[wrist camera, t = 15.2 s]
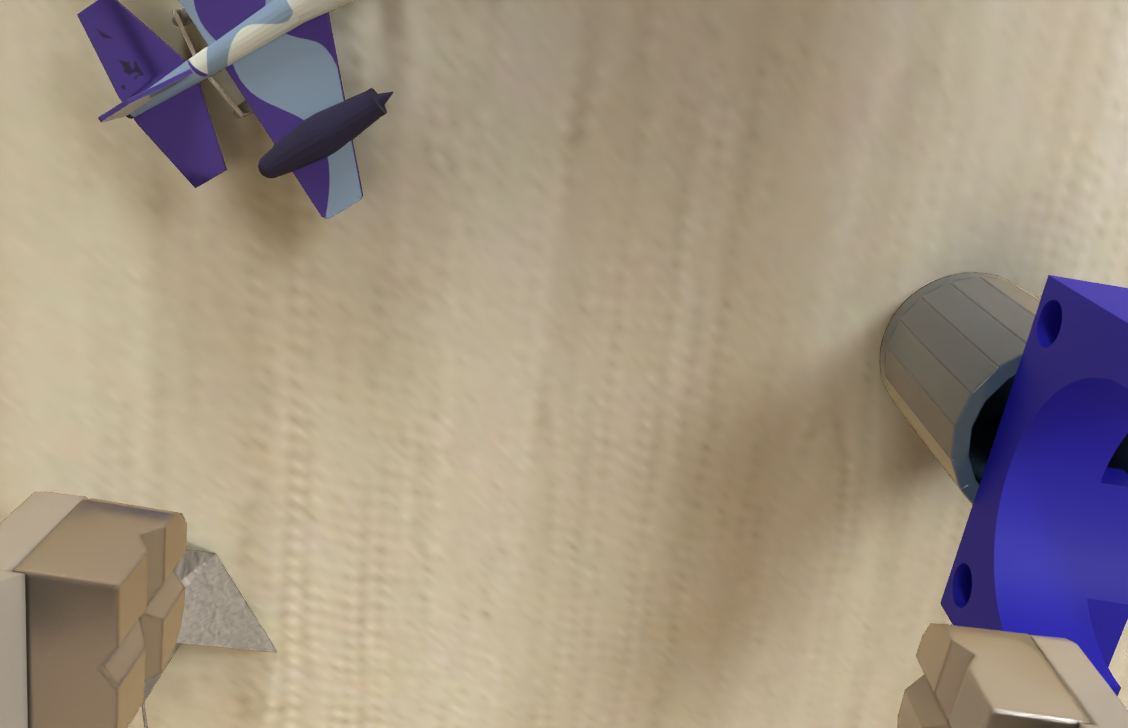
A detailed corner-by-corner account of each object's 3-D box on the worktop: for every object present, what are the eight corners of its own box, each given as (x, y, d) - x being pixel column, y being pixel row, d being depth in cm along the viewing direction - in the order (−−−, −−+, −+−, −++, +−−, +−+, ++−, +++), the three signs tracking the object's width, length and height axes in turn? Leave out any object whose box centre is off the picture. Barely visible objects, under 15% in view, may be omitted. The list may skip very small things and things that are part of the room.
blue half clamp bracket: (1064, 622, 37) (1152, 736, 31) (940, 603, 37) (1005, 714, 31) (1187, 298, 33) (1313, 361, 27) (1048, 275, 33) (1145, 334, 27)
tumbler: (902, 259, 42) (984, 328, 33) (1070, 286, 42) (1193, 360, 34) (860, 415, 44) (927, 516, 36) (1019, 439, 44) (1123, 545, 36)
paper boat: (280, 530, 45) (307, 738, 46) (244, 511, 51) (269, 697, 51) (-40, 597, 39) (-4, 835, 40) (-41, 567, 45) (-10, 777, 45)
